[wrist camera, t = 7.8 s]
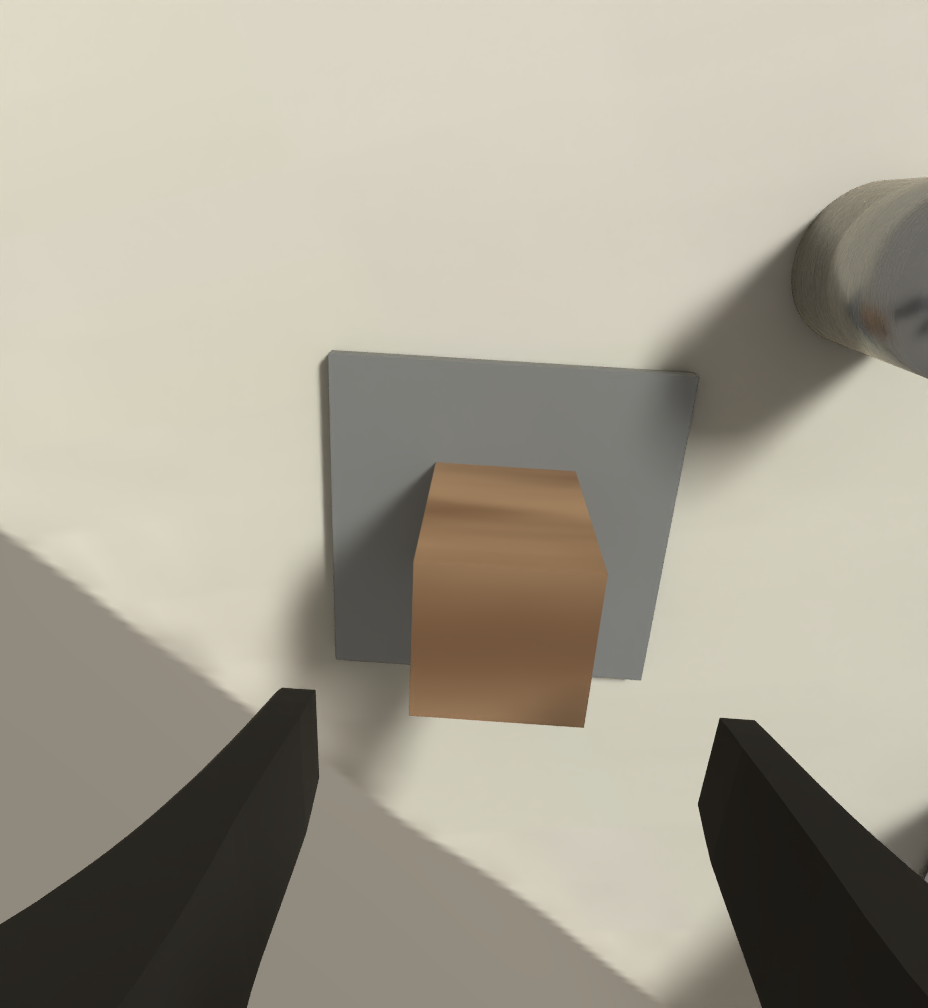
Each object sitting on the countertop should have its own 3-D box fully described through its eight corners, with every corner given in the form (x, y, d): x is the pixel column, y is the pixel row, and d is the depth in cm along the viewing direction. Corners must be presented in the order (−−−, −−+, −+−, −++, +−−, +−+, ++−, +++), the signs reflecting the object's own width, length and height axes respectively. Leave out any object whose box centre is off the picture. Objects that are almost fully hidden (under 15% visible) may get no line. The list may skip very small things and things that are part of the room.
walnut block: (560, 592, 21) (583, 727, 16) (431, 583, 21) (409, 715, 16) (575, 471, 20) (607, 574, 14) (436, 462, 20) (413, 561, 14)
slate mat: (637, 671, 23) (640, 680, 22) (338, 650, 23) (335, 659, 22) (694, 372, 19) (699, 376, 18) (332, 350, 19) (328, 353, 18)
